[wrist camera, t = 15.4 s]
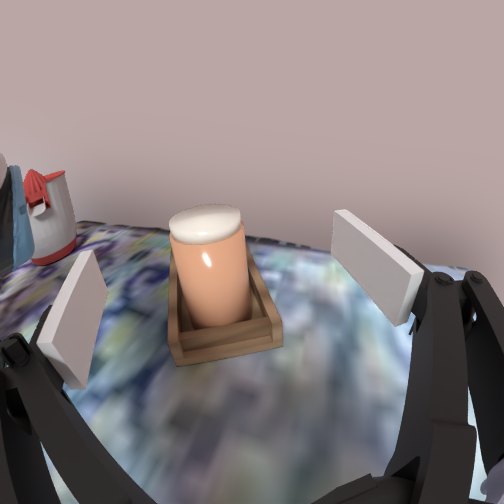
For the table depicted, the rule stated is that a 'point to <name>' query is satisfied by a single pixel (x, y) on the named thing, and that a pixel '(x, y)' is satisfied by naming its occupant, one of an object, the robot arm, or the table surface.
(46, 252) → the citrus juicer
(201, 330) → the tray
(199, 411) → the table surface
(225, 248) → the jar
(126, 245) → the table surface
